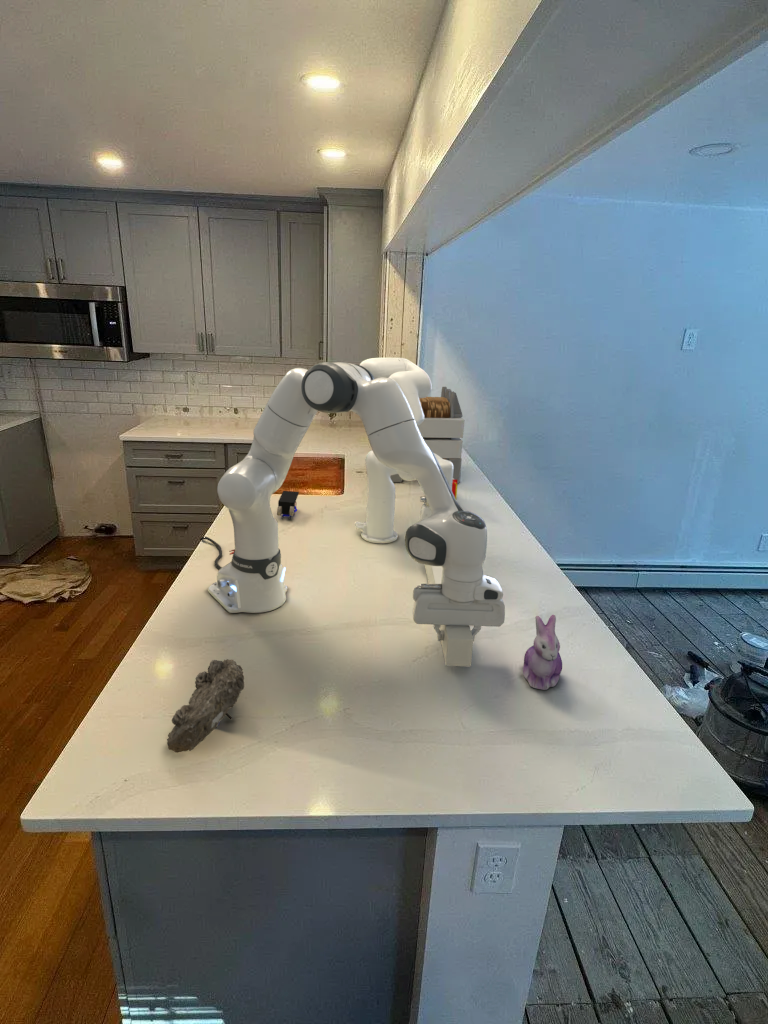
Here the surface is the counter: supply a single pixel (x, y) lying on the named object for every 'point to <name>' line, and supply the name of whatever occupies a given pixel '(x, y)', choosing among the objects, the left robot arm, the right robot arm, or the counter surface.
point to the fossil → (206, 705)
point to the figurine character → (287, 504)
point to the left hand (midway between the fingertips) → (455, 639)
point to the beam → (452, 631)
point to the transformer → (442, 429)
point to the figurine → (543, 656)
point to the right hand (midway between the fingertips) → (433, 556)
